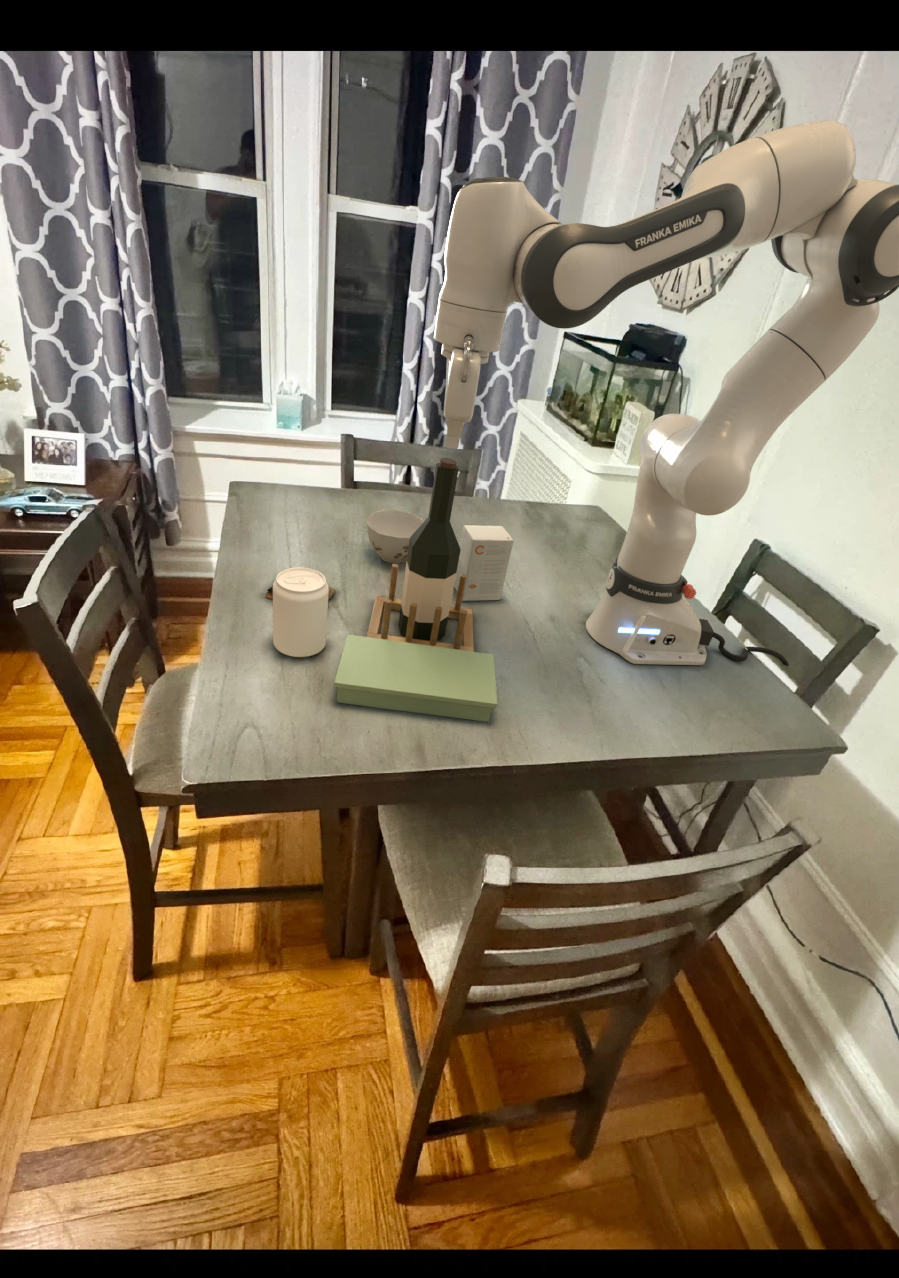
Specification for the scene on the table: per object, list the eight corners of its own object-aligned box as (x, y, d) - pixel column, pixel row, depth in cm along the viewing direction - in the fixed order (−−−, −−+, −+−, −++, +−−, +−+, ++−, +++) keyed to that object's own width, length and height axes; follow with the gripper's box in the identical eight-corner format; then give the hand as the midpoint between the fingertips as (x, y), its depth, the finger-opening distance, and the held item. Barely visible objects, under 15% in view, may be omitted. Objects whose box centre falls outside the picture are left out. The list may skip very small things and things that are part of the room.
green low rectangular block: (488, 674, 97) (493, 654, 95) (491, 724, 87) (497, 704, 85) (346, 655, 95) (347, 634, 93) (332, 704, 85) (334, 682, 83)
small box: (489, 584, 122) (502, 525, 115) (500, 600, 117) (514, 540, 110) (452, 584, 119) (462, 524, 112) (461, 601, 115) (473, 539, 107)
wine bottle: (439, 649, 100) (471, 475, 84) (391, 637, 101) (413, 462, 84) (449, 623, 107) (480, 459, 91) (404, 612, 108) (427, 447, 91)
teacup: (367, 571, 118) (370, 534, 114) (360, 542, 128) (363, 507, 124) (440, 573, 123) (446, 537, 118) (428, 545, 132) (433, 511, 128)
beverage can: (326, 660, 93) (330, 594, 87) (272, 660, 91) (271, 592, 85) (324, 630, 100) (328, 567, 93) (274, 629, 98) (273, 564, 91)
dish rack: (470, 616, 111) (479, 575, 106) (471, 660, 99) (481, 616, 95) (375, 603, 109) (379, 561, 104) (365, 645, 98) (370, 600, 93)
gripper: (496, 347, 70) (475, 464, 77) (489, 324, 87) (472, 422, 94) (443, 337, 69) (426, 456, 77) (446, 316, 86) (432, 415, 94)
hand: (451, 437), depth 86 cm, fingers open, 8 cm apart
